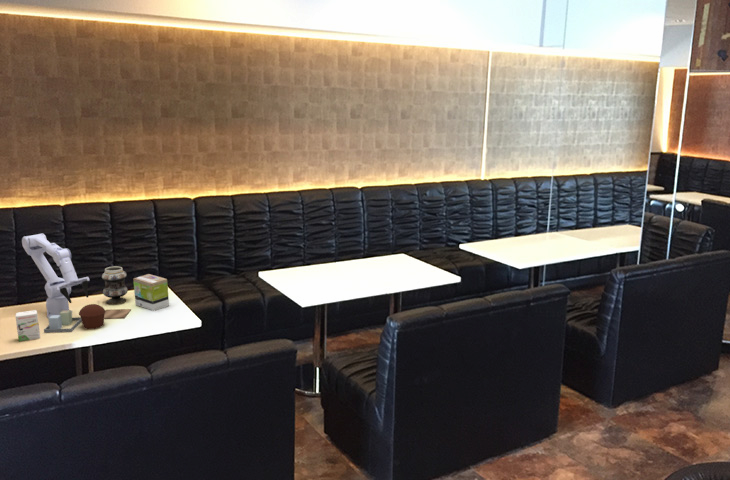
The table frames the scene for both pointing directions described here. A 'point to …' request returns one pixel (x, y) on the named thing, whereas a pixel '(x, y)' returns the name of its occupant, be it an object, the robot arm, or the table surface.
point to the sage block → (66, 317)
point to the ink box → (27, 325)
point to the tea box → (151, 292)
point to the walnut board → (116, 313)
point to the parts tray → (48, 330)
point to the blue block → (55, 322)
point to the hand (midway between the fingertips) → (79, 299)
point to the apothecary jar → (114, 285)
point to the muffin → (92, 316)
